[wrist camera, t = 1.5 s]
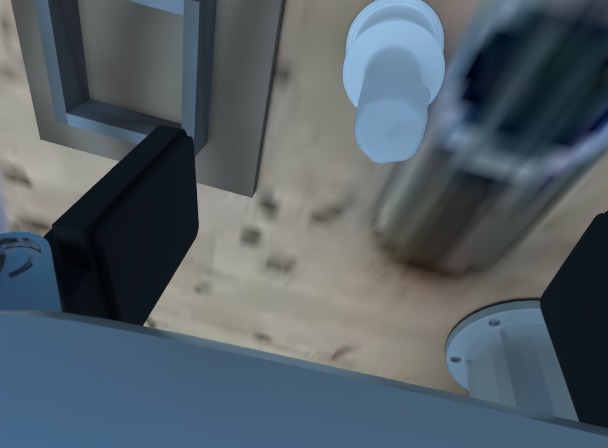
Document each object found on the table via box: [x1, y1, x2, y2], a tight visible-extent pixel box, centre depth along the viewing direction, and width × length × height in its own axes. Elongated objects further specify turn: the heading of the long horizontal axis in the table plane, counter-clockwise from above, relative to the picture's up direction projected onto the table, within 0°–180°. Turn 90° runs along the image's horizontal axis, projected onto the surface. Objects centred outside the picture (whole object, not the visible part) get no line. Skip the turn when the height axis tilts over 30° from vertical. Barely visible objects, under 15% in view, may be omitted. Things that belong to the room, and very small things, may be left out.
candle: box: [343, 0, 445, 163], centre depth 19 cm, size 5×5×12 cm
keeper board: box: [11, 0, 285, 198], centre depth 25 cm, size 16×16×4 cm
